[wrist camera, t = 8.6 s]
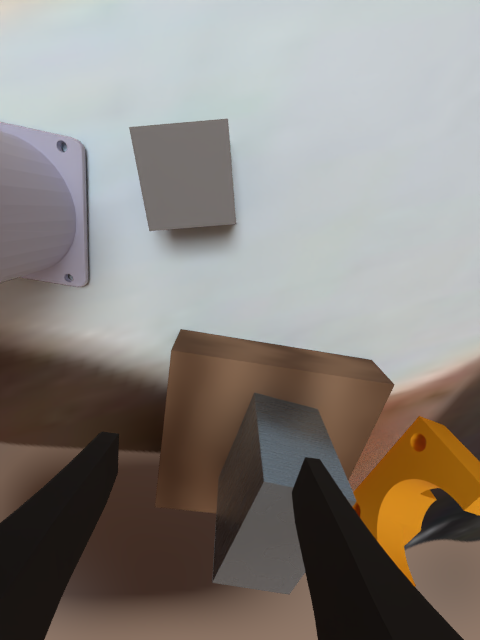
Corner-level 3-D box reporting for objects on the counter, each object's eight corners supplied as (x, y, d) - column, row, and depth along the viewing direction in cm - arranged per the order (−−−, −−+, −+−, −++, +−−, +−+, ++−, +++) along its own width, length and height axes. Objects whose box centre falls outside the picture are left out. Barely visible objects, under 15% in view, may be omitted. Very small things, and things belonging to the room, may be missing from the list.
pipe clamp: (377, 515, 27) (418, 603, 21) (340, 504, 26) (371, 592, 20) (459, 430, 23) (539, 508, 17) (418, 414, 22) (486, 490, 16)
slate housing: (213, 488, 20) (206, 594, 15) (254, 392, 17) (264, 481, 11) (268, 499, 21) (281, 605, 15) (317, 409, 18) (356, 501, 12)
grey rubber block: (169, 226, 16) (149, 231, 12) (156, 148, 15) (129, 127, 11) (235, 220, 16) (236, 223, 12) (229, 142, 14) (227, 118, 11)
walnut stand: (164, 472, 24) (154, 506, 21) (180, 329, 18) (171, 350, 16) (316, 489, 25) (326, 524, 22) (371, 360, 20) (394, 384, 17)
